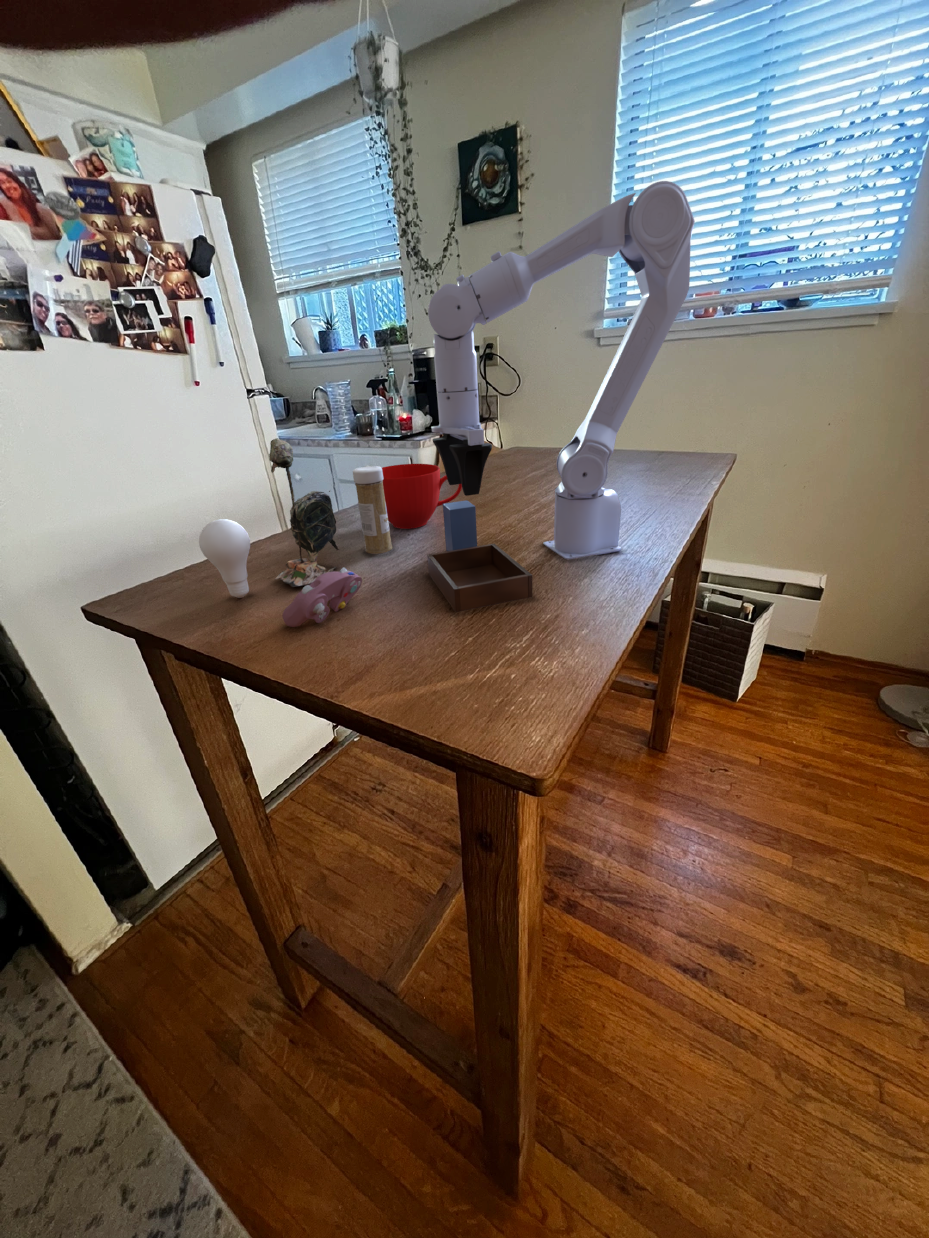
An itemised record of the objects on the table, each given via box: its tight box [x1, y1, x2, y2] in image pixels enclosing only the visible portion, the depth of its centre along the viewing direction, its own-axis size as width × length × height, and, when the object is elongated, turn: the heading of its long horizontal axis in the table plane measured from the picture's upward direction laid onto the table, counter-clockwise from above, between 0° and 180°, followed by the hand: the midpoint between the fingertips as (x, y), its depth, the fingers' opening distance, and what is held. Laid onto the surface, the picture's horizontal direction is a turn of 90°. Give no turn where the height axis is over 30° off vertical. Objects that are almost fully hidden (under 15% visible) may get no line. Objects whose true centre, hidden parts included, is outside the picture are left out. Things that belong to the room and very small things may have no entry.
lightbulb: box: [198, 518, 251, 599], centre depth 67 cm, size 6×6×11 cm
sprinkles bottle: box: [352, 465, 393, 555], centre depth 80 cm, size 5×5×14 cm
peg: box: [442, 500, 478, 552], centre depth 78 cm, size 4×4×8 cm
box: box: [426, 543, 533, 613], centre depth 67 cm, size 10×13×3 cm
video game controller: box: [282, 567, 363, 628], centre depth 62 cm, size 10×5×7 cm, turn 148°
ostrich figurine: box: [268, 438, 340, 588], centre depth 71 cm, size 8×11×20 cm
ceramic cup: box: [381, 463, 463, 530], centre depth 94 cm, size 13×17×10 cm
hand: (463, 489), depth 76 cm, fingers open, 7 cm apart
